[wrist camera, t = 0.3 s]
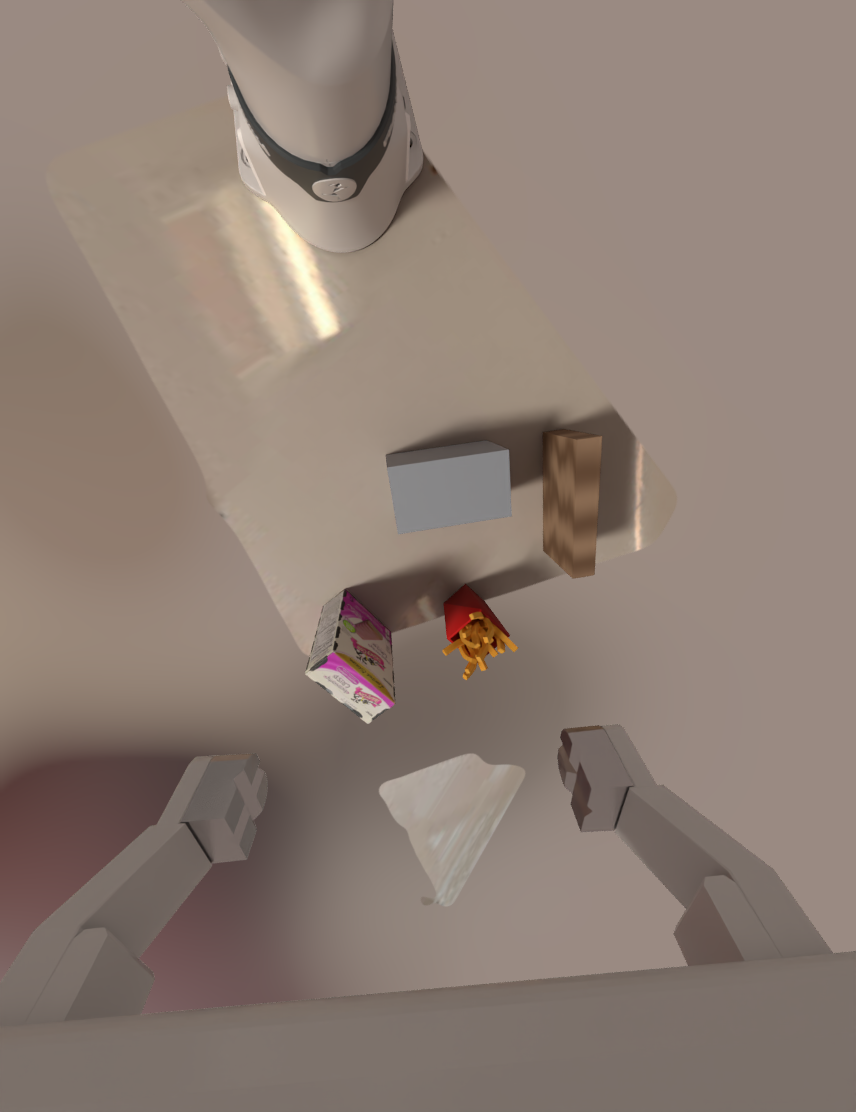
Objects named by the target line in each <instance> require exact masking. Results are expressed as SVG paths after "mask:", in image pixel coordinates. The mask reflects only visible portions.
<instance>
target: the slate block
mask: <svg viewBox="0 0 856 1112" xmlns="http://www.w3.org/2000/svg"><path fill="white" fill-rule="evenodd" d="M386 462H387V470H388V476H389V482H390V488H391V494H392V500H393V506H394V512H395V518H396V524H397V530H398V534H403V533H409V532H415V531H422V530H428V529H434V528H441V527H447V526H453V525H460V524H466V523H472V522H479V521H485V520H491V519H498V518H504V517H510V516H512V514H511V488H510V462H509V449H507V448H504V447H502V446H499V445H497V444H494V443H492V442H490V441H487V440H485V441H478V442H471V443H464V444H457V445H451V446H444V447H437V448H430V449H423V450H416V451H409V452H402V453H395V454H389V455H386Z"/></svg>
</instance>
